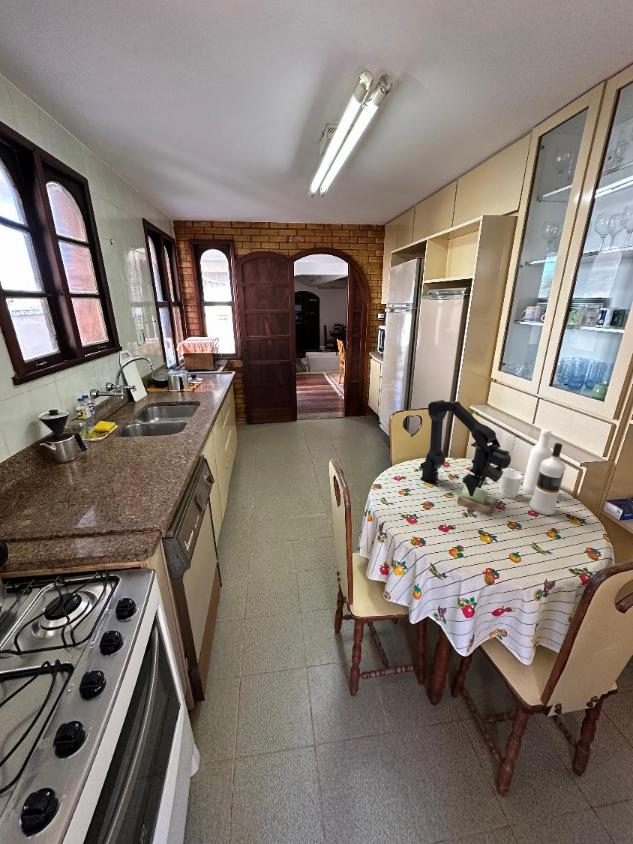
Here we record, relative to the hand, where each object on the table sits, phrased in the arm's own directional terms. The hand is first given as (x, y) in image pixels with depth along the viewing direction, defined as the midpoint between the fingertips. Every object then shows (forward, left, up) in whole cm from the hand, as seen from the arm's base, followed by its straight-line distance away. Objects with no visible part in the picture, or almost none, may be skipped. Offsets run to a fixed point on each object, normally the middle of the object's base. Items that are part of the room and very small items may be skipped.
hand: (475, 491), depth 147 cm
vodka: (+23, +15, -6) cm, 28 cm away
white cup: (+9, +18, -6) cm, 21 cm away
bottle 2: (+16, +29, -6) cm, 33 cm away
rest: (+2, 0, -6) cm, 6 cm away
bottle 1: (+2, 0, -4) cm, 5 cm away
